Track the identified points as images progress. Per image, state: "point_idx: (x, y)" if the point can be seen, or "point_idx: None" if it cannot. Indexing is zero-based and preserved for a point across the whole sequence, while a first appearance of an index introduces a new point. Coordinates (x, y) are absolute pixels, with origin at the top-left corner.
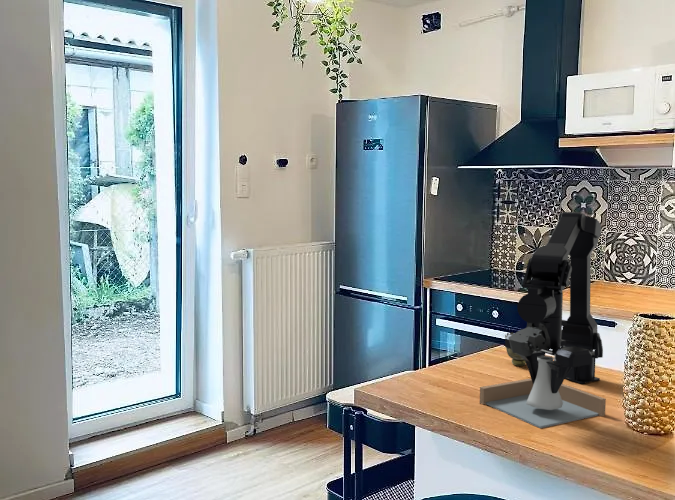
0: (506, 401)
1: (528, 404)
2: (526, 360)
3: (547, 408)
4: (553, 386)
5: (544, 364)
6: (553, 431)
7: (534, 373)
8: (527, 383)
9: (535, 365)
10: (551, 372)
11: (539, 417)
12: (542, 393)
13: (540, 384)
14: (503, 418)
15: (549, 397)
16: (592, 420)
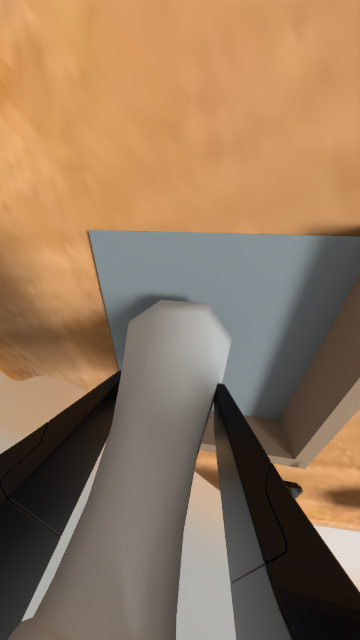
0: (309, 312)
1: (197, 303)
2: (344, 623)
3: (134, 318)
4: (96, 389)
5: (75, 572)
6: (66, 248)
7: (226, 447)
8: (311, 423)
9: (239, 528)
10: (28, 471)
11: (150, 288)
12: (142, 346)
13: (145, 375)
14: (216, 177)
15: (126, 348)
16: (109, 370)
